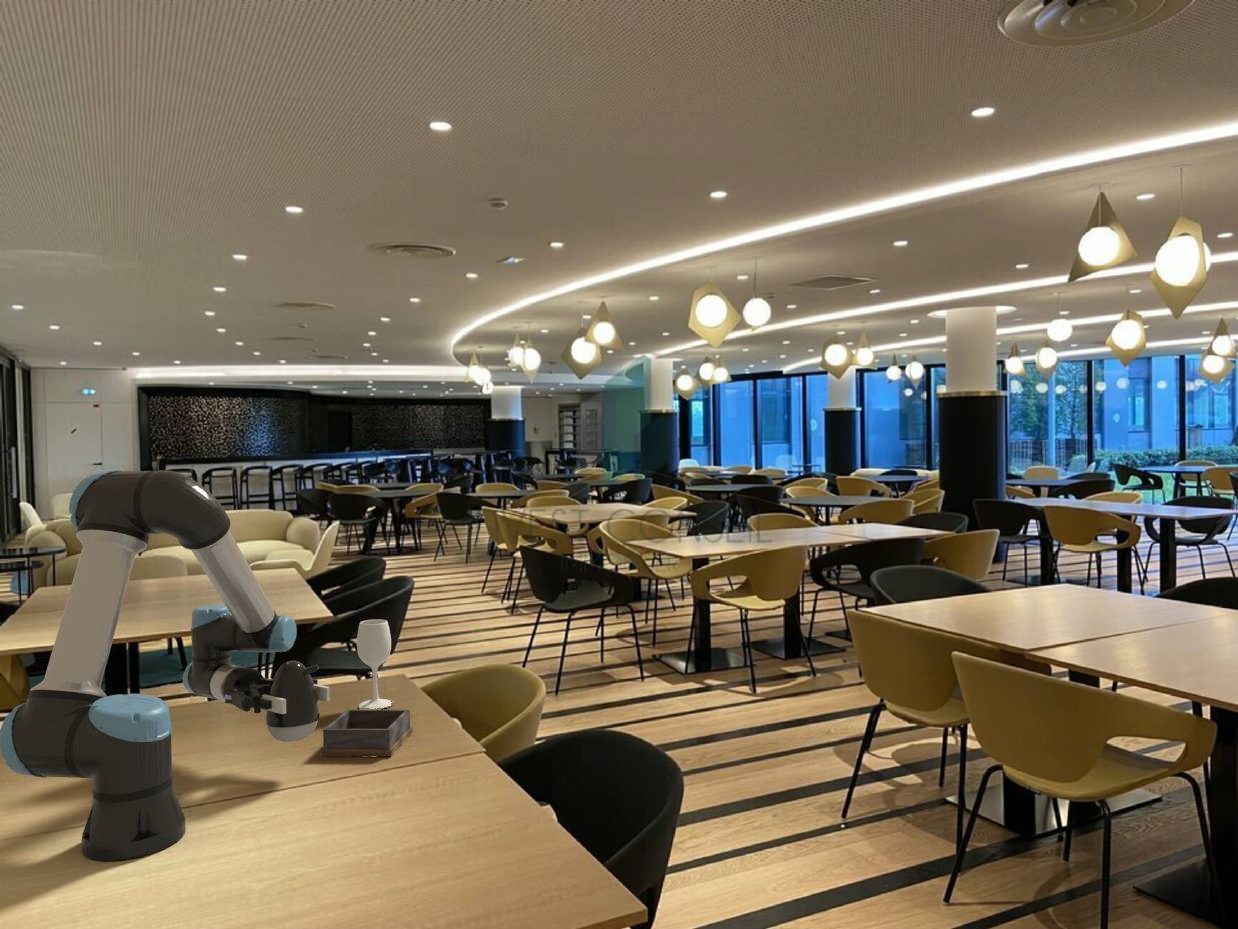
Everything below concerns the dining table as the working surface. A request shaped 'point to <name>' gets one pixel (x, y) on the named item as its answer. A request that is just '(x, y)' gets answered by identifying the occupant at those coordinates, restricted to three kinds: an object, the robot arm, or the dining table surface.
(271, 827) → the dining table surface
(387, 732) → the holder
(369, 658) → the wineglass
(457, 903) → the dining table surface
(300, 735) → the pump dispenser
